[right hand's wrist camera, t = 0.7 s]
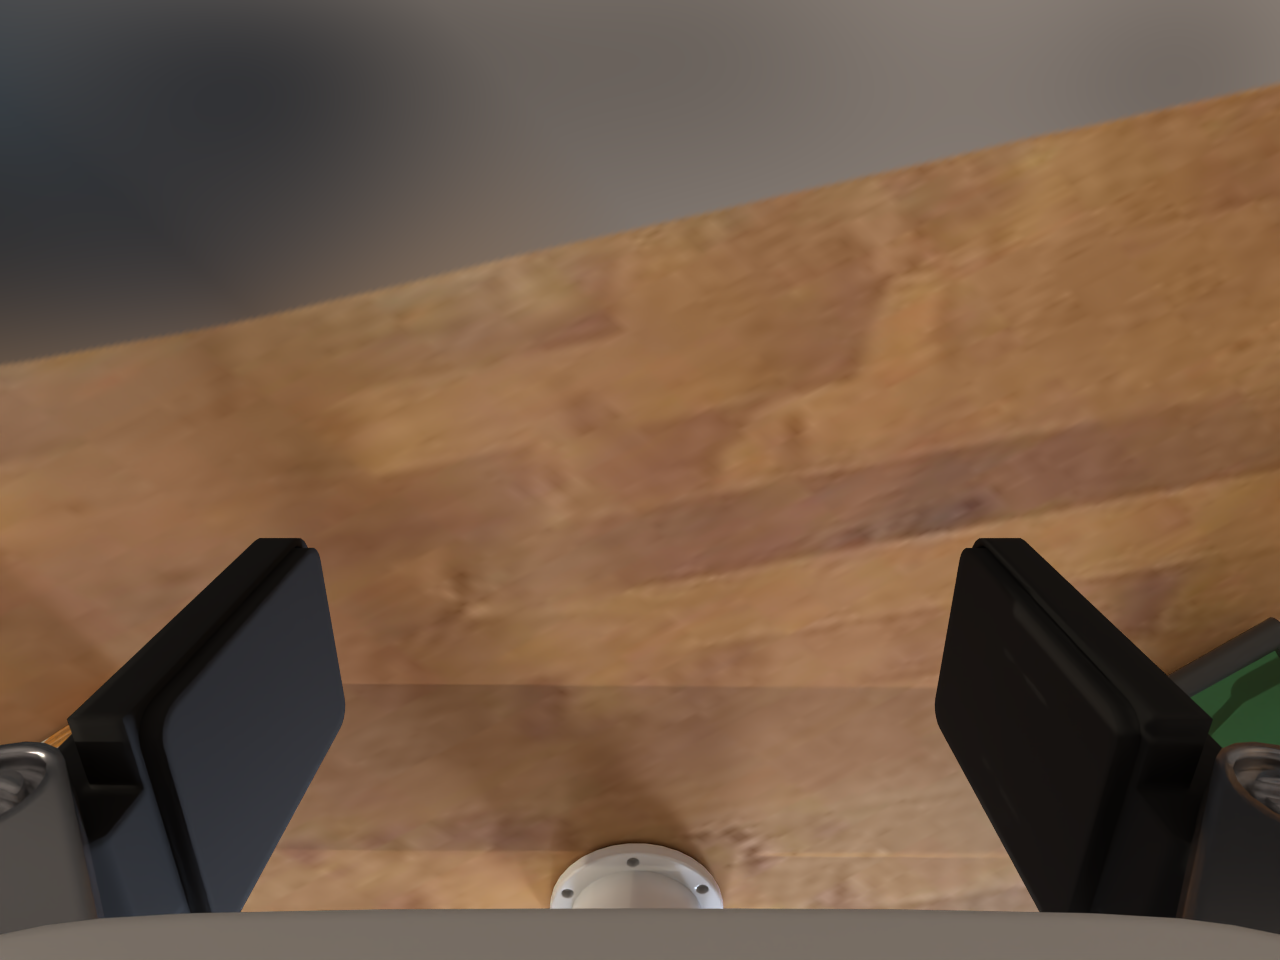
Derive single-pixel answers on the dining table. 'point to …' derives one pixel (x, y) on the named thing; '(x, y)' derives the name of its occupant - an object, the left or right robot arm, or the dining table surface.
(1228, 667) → the drawer
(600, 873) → the right robot arm
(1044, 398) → the dining table surface
